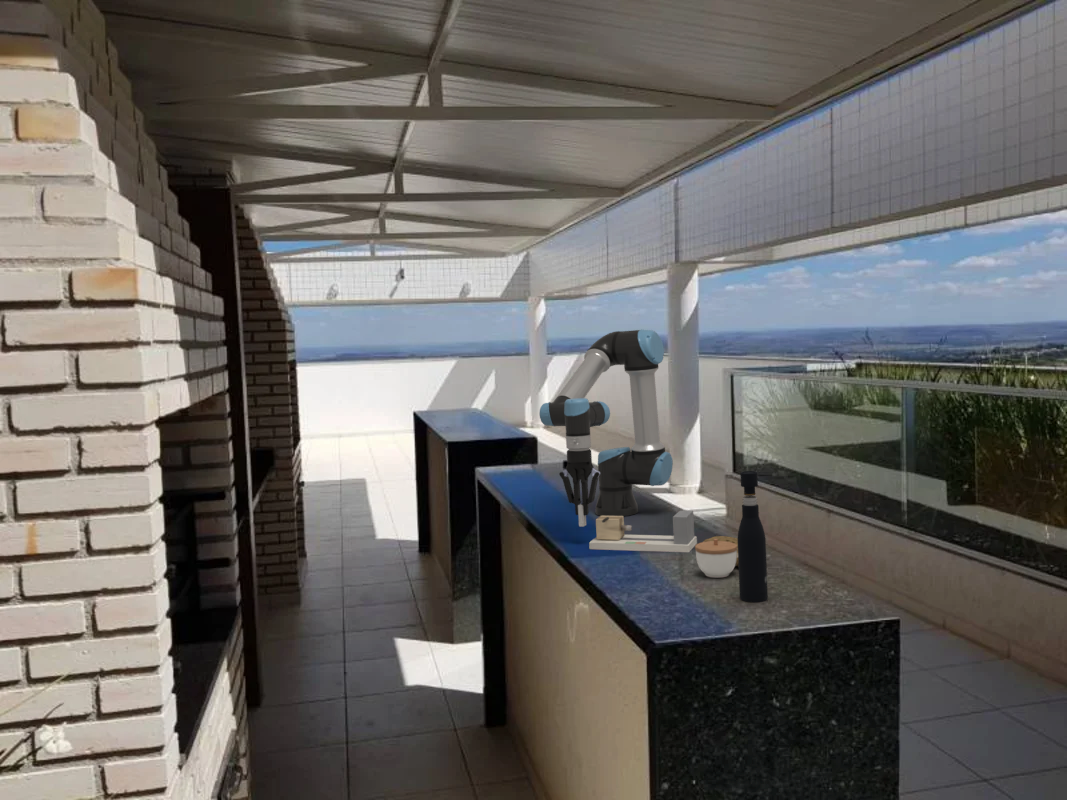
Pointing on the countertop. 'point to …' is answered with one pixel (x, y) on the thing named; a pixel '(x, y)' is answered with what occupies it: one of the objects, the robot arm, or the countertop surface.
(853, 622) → the countertop surface
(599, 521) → the gauge carriage
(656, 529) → the countertop surface
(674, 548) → the bench
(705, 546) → the lidded jar
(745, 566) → the wine bottle
